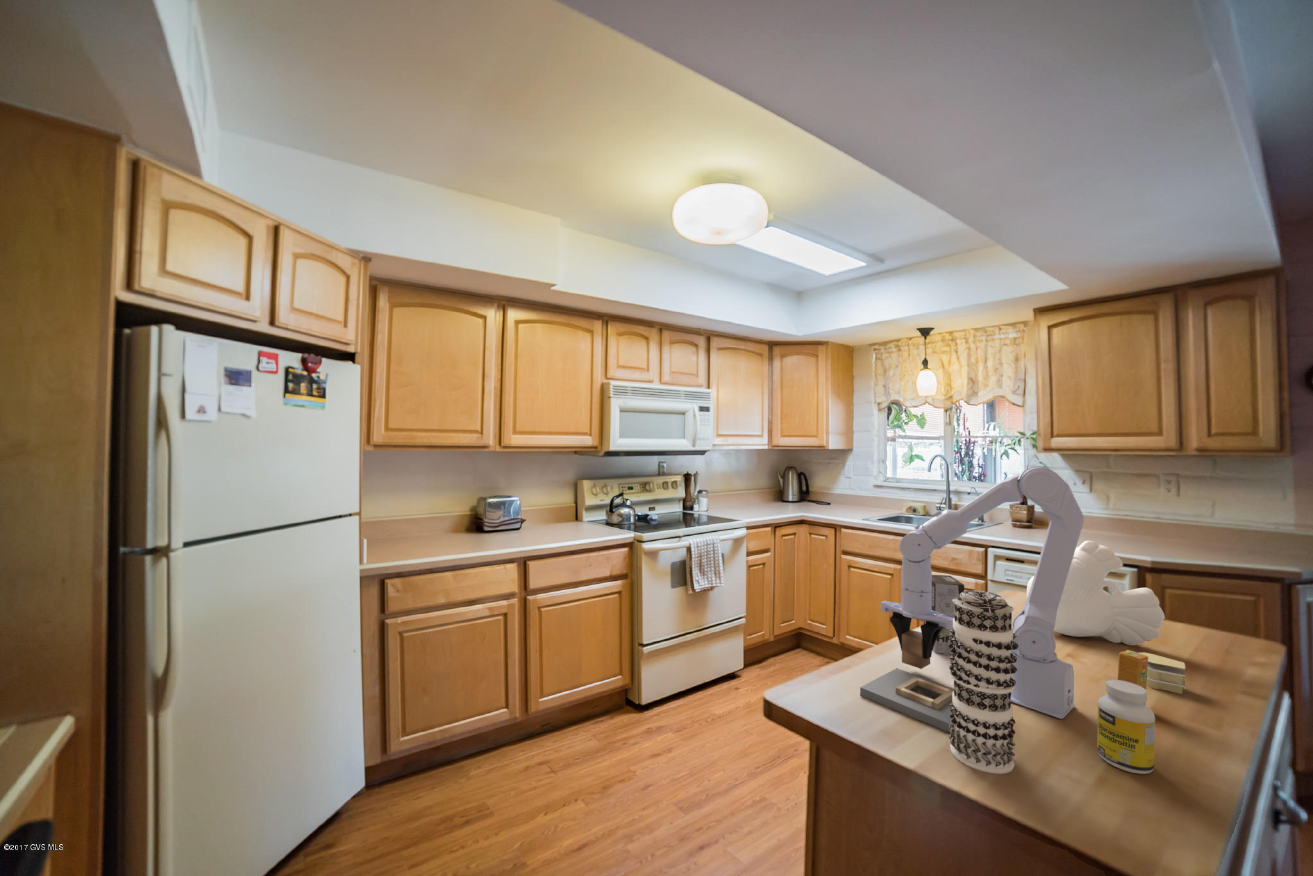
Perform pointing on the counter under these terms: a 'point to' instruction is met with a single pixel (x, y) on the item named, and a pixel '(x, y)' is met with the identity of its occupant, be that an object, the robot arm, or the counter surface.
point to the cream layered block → (1165, 673)
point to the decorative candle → (982, 682)
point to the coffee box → (944, 605)
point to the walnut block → (913, 649)
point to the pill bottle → (1126, 728)
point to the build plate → (912, 697)
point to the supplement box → (1133, 668)
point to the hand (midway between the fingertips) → (916, 653)
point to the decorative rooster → (1104, 601)
